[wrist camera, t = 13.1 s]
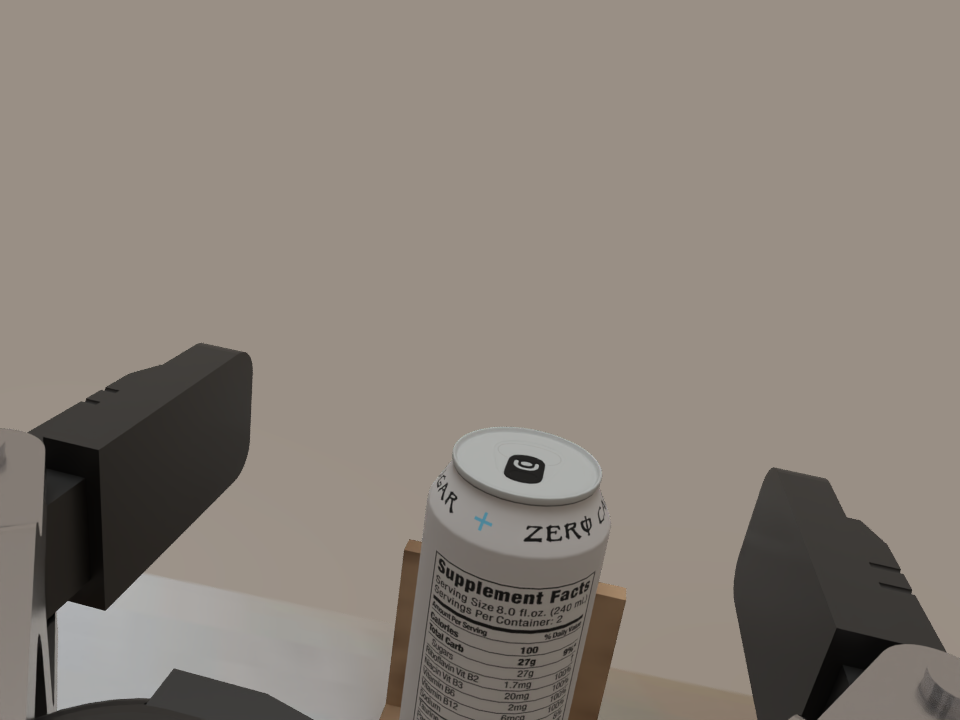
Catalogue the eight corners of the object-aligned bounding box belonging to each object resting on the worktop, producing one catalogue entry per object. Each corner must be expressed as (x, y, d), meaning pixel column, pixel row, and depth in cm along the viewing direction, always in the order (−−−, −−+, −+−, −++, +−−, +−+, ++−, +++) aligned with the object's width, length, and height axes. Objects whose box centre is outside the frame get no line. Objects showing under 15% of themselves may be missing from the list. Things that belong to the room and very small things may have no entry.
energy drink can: (552, 763, 32) (622, 440, 27) (534, 903, 26) (619, 528, 21) (413, 726, 33) (456, 406, 28) (366, 855, 27) (411, 482, 22)
